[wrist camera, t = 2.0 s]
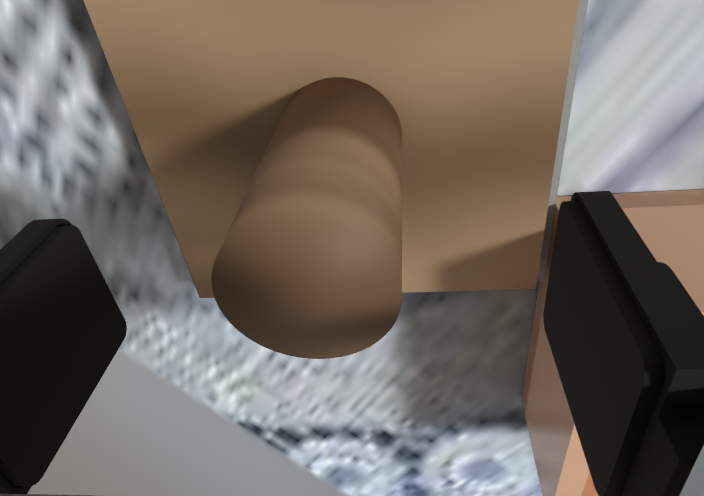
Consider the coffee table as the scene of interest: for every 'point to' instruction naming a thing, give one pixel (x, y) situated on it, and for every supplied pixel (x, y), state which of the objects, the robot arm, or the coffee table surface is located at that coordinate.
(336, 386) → the coffee table surface
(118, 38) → the lid
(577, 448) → the open wooden box
